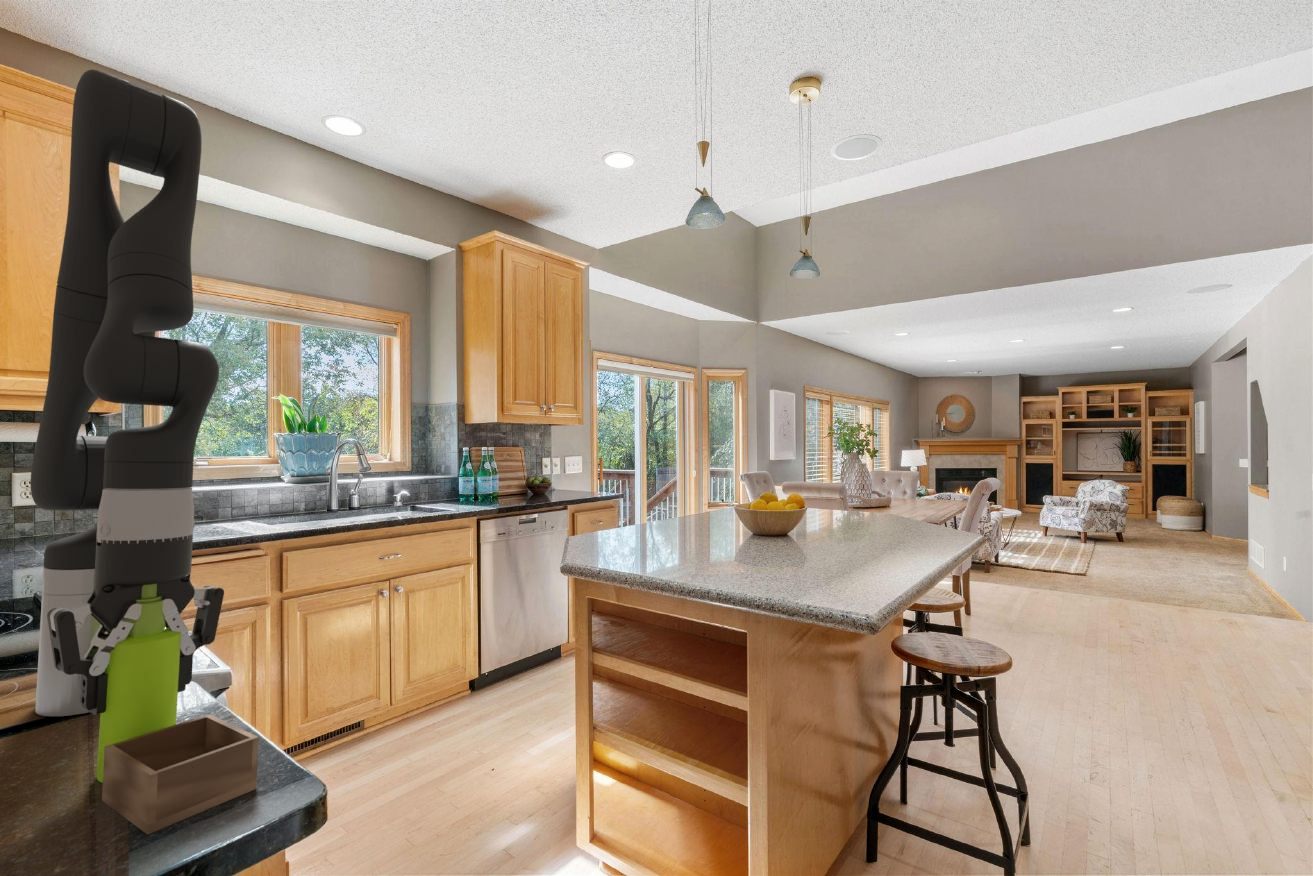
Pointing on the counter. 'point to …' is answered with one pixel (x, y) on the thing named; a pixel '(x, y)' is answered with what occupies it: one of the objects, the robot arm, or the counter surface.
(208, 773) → the walnut caddy
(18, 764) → the counter surface
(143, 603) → the soap dispenser
